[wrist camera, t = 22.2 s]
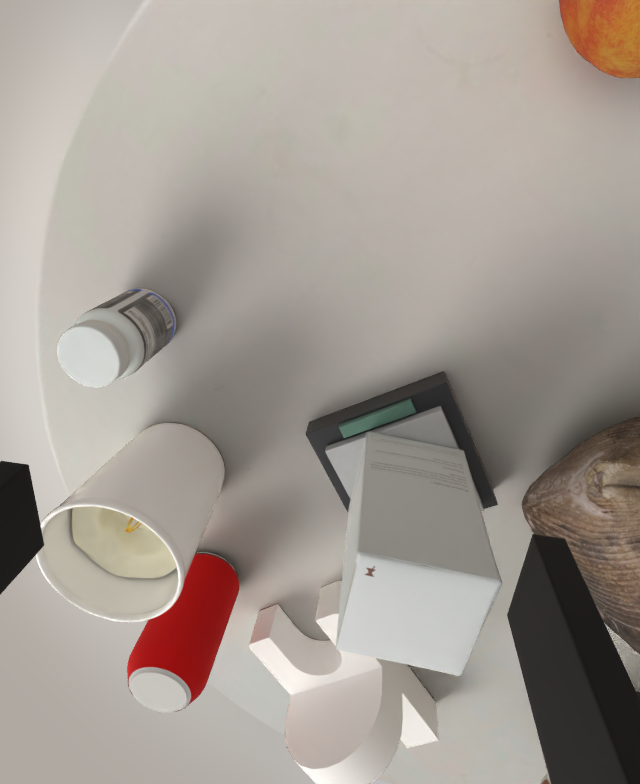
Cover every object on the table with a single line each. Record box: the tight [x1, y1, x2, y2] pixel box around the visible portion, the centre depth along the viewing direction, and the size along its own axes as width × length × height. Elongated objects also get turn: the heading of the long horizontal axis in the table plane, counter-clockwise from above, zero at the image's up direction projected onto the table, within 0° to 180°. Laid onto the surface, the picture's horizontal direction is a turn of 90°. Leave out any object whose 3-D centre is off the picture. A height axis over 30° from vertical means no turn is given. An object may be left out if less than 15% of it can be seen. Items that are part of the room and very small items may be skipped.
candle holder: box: [36, 423, 225, 622], centre depth 38 cm, size 10×10×12 cm
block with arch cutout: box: [249, 581, 439, 784], centre depth 45 cm, size 18×10×11 cm, turn 32°
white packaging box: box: [336, 432, 502, 676], centre depth 32 cm, size 7×7×13 cm
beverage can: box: [127, 552, 239, 712], centre depth 42 cm, size 6×6×12 cm
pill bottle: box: [57, 288, 176, 388], centre depth 34 cm, size 5×5×8 cm
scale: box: [306, 372, 498, 512], centre depth 39 cm, size 11×11×3 cm
